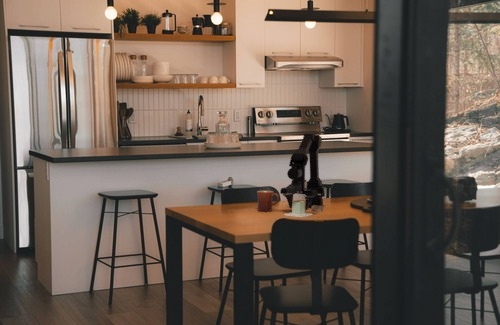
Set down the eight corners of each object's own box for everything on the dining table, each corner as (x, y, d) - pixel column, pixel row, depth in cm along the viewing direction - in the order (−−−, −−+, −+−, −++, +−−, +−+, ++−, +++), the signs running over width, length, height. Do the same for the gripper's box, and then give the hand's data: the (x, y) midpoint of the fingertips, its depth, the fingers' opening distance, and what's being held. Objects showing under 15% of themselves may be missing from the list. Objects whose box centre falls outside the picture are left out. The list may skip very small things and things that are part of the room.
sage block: (292, 213, 351) (292, 201, 351) (297, 212, 355) (297, 200, 354) (299, 214, 348) (299, 202, 348) (304, 213, 352) (304, 201, 351)
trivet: (284, 215, 350) (284, 213, 350) (295, 213, 358) (295, 211, 358) (301, 217, 345) (301, 215, 344) (312, 215, 353) (312, 213, 352)
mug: (253, 211, 362) (253, 191, 361) (260, 209, 370) (260, 190, 369) (275, 213, 357) (275, 193, 356) (281, 211, 365) (282, 191, 364)
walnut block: (311, 212, 364) (311, 206, 364) (313, 210, 369) (313, 205, 369) (320, 212, 363) (321, 206, 363) (322, 211, 368) (323, 205, 367)
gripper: (274, 177, 349) (273, 209, 350) (306, 180, 338) (305, 212, 339) (286, 176, 358) (286, 206, 359) (318, 178, 347) (317, 210, 348)
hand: (298, 209), depth 351 cm, fingers open, 9 cm apart
